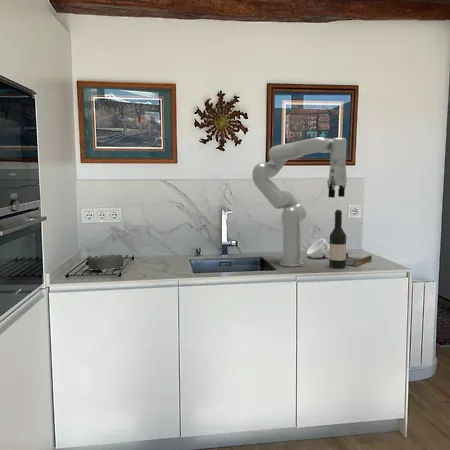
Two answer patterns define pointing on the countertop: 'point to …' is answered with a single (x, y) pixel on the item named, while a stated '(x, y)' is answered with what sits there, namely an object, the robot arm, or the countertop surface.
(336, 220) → the wine bottle
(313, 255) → the skull bowl
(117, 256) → the grey rounded piece
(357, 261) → the cradle
